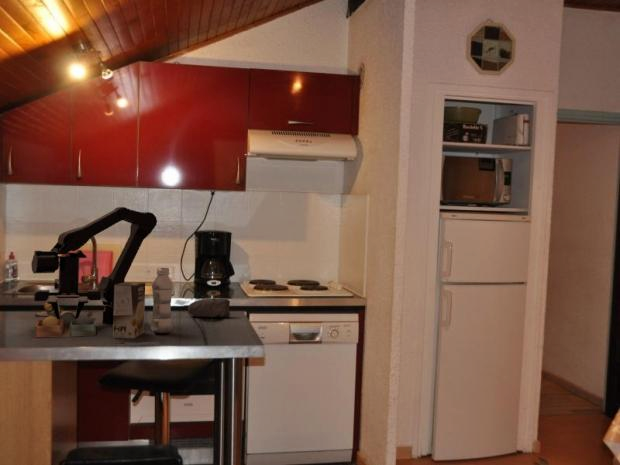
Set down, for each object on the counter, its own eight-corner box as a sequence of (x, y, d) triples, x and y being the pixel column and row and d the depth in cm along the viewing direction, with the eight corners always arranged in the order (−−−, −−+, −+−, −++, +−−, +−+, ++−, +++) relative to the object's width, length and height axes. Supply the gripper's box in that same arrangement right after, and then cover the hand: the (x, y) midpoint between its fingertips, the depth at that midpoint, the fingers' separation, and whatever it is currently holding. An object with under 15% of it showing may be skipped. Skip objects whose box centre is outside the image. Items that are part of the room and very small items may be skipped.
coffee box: (134, 342, 166) (135, 285, 165) (111, 341, 166) (113, 284, 166) (144, 335, 175) (145, 282, 175) (123, 335, 175) (124, 281, 175)
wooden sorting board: (94, 326, 187) (95, 314, 187) (95, 338, 168) (96, 324, 168) (39, 328, 181) (40, 315, 181) (34, 340, 162) (34, 326, 162)
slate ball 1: (75, 325, 183) (75, 311, 183) (75, 327, 179) (75, 313, 179) (60, 325, 181) (60, 311, 181) (59, 327, 177) (59, 313, 177)
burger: (69, 320, 197) (69, 298, 197) (31, 320, 194) (32, 298, 194) (75, 315, 209) (75, 294, 209) (39, 315, 206) (40, 294, 206)
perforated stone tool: (186, 318, 210) (187, 298, 209) (188, 315, 215) (189, 297, 215) (228, 319, 210) (229, 300, 210) (229, 317, 215) (230, 298, 215)
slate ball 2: (90, 328, 178) (91, 314, 178) (90, 331, 174) (91, 316, 174) (75, 329, 176) (75, 314, 176) (74, 331, 172) (75, 316, 172)
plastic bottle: (153, 335, 175) (155, 269, 175) (148, 331, 181) (150, 267, 181) (174, 334, 178) (176, 269, 178) (168, 330, 184) (170, 267, 184)
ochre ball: (58, 329, 175) (59, 314, 174) (57, 332, 170) (58, 317, 170) (42, 330, 173) (42, 315, 173) (41, 332, 169) (41, 317, 169)
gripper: (100, 270, 191) (99, 318, 191) (37, 270, 184) (36, 319, 184) (101, 273, 180) (99, 324, 181) (34, 273, 174) (33, 325, 174)
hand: (67, 323), depth 180 cm, fingers closed on slate ball 1, 4 cm apart
